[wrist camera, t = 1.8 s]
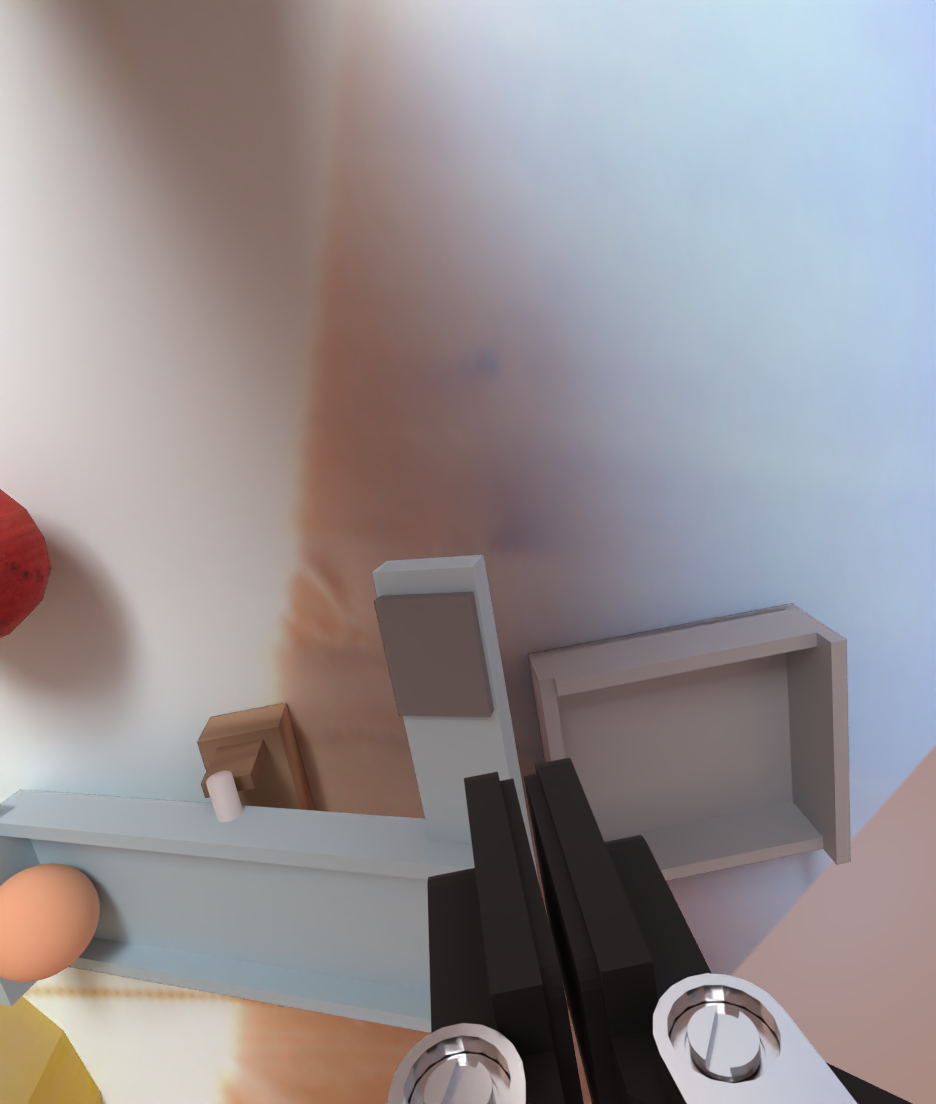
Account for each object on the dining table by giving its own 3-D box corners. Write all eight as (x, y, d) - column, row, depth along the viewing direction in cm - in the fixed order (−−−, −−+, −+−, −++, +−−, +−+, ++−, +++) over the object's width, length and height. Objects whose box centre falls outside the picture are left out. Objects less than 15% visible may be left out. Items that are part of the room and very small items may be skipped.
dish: (528, 653, 31) (545, 697, 27) (791, 603, 31) (846, 639, 27) (559, 852, 34) (579, 917, 30) (800, 803, 34) (850, 861, 30)
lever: (-61, 589, 28) (-177, 633, 24) (483, 554, 20) (432, 611, 16) (84, 949, 33) (6, 1031, 29) (563, 1031, 25) (538, 1155, 21)
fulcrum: (210, 717, 30) (178, 778, 26) (285, 702, 30) (266, 760, 26) (268, 909, 33) (248, 992, 29) (337, 895, 33) (327, 976, 29)
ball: (46, 831, 29) (-61, 901, 26) (102, 854, 27) (-7, 933, 24) (77, 910, 31) (-22, 986, 27) (133, 938, 28) (34, 1024, 25)
